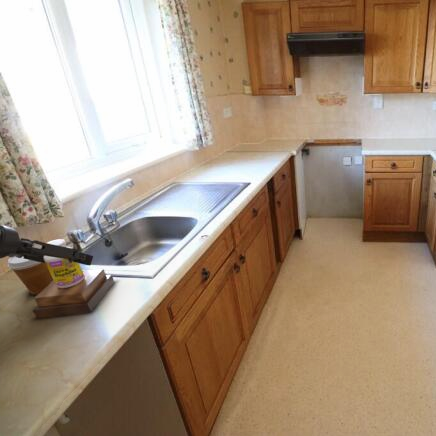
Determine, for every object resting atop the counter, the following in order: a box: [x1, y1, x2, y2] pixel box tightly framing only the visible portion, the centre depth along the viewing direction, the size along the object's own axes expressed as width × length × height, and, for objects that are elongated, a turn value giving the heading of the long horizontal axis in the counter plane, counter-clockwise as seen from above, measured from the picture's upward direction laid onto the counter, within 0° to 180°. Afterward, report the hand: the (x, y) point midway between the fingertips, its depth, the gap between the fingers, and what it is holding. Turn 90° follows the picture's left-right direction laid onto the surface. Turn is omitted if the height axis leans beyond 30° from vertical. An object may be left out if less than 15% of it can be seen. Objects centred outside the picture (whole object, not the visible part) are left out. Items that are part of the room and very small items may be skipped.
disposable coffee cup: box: [7, 256, 53, 295], centre depth 98 cm, size 10×10×12 cm
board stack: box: [32, 268, 115, 319], centre depth 94 cm, size 14×14×6 cm
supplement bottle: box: [44, 238, 84, 288], centre depth 90 cm, size 7×7×13 cm
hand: (69, 259), depth 92 cm, fingers open, 13 cm apart
